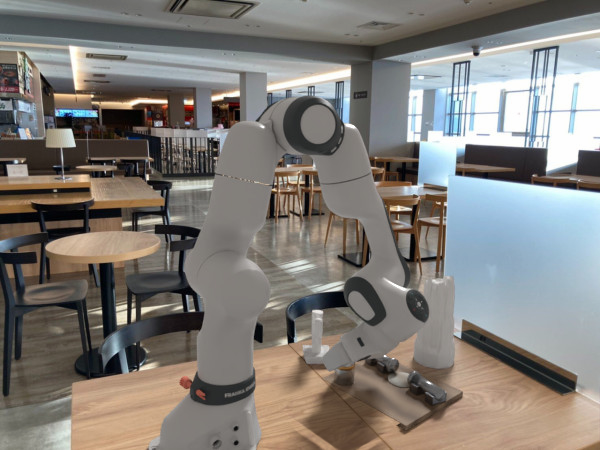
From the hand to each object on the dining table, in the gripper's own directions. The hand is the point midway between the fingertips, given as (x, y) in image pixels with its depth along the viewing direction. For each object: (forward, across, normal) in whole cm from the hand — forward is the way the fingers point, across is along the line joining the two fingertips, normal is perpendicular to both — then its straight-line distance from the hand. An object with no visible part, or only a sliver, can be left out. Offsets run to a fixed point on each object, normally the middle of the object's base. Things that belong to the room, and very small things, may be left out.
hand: (343, 361), depth 119 cm
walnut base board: (-2, -8, +11) cm, 13 cm away
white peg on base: (+13, -2, -4) cm, 14 cm away
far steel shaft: (+2, -13, +5) cm, 14 cm away
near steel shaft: (-9, -10, +16) cm, 21 cm away
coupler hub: (+3, 0, +4) cm, 5 cm away
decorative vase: (0, -30, +9) cm, 31 cm away
